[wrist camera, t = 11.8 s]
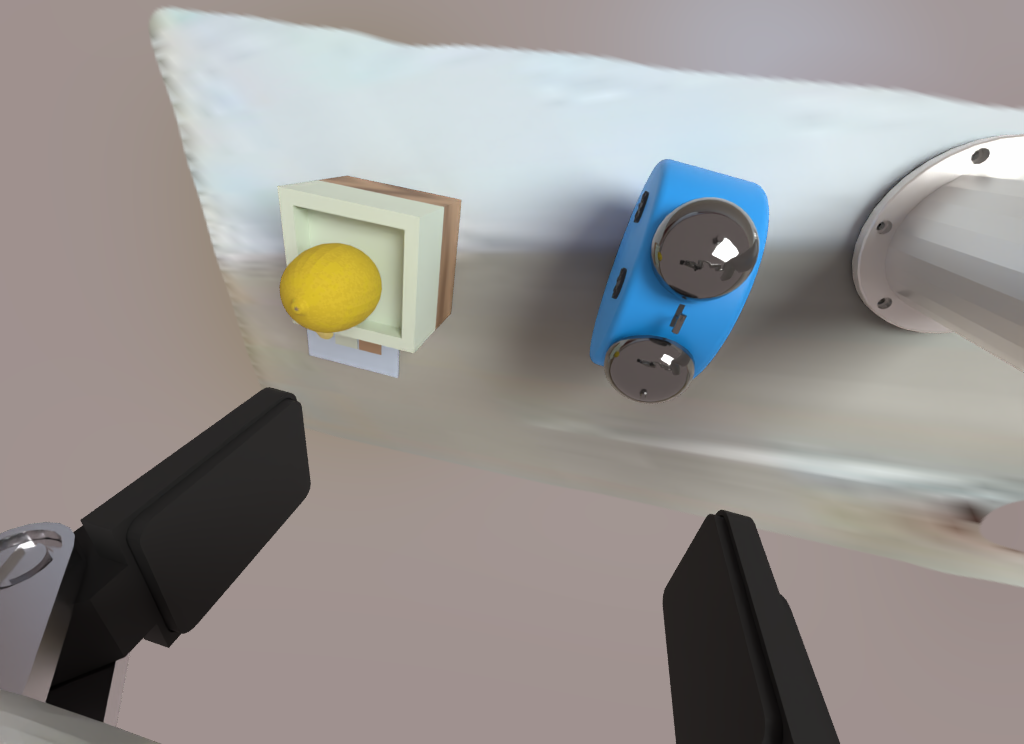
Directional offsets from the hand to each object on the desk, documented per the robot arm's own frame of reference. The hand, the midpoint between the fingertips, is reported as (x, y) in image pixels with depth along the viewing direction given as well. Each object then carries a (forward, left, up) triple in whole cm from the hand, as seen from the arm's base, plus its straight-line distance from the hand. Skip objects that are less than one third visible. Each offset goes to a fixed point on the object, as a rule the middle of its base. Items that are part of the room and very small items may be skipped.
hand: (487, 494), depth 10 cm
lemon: (+15, +4, -22) cm, 26 cm away
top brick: (+15, +4, -24) cm, 29 cm away
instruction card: (+20, +14, -28) cm, 37 cm away
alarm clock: (-6, 0, -28) cm, 29 cm away
